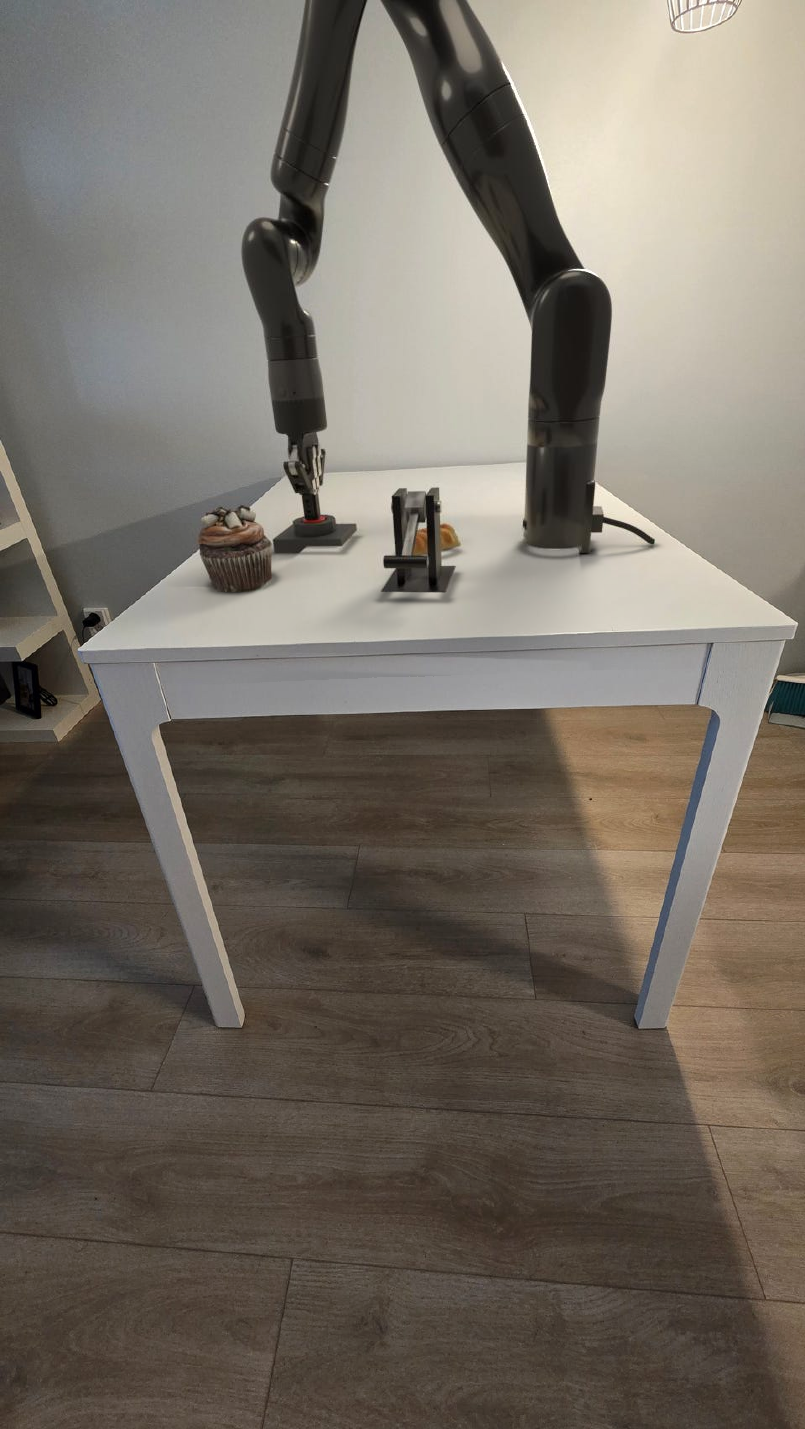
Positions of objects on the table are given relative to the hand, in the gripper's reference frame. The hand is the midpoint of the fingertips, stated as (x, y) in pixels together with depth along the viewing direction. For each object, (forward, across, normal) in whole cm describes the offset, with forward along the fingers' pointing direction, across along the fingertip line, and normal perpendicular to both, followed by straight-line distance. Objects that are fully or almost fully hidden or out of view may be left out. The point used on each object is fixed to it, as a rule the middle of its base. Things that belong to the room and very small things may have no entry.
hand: (313, 518), depth 100 cm
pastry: (+4, -5, -19) cm, 20 cm away
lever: (-3, -22, -20) cm, 30 cm away
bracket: (+4, -19, -20) cm, 28 cm away
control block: (+4, 0, 0) cm, 4 cm away
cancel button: (+2, 0, 0) cm, 2 cm away
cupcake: (+4, -18, +5) cm, 19 cm away
